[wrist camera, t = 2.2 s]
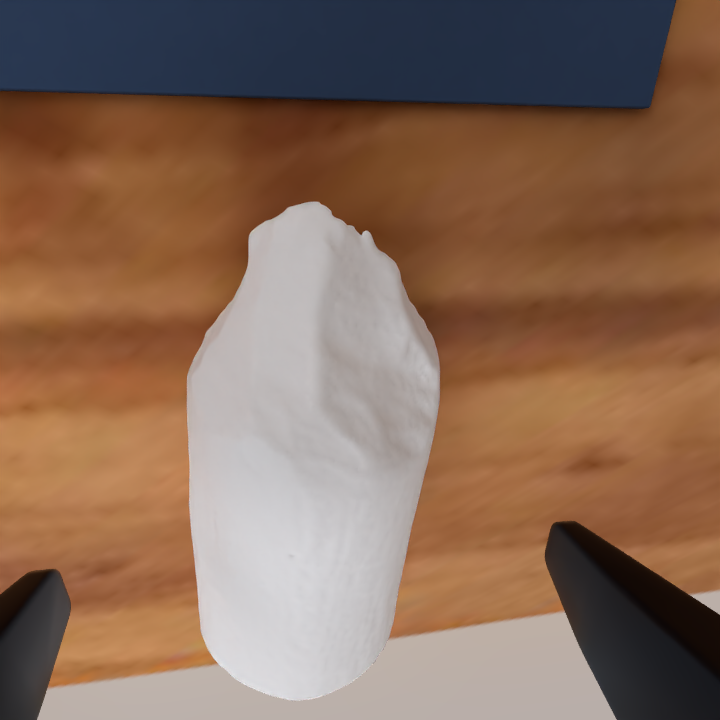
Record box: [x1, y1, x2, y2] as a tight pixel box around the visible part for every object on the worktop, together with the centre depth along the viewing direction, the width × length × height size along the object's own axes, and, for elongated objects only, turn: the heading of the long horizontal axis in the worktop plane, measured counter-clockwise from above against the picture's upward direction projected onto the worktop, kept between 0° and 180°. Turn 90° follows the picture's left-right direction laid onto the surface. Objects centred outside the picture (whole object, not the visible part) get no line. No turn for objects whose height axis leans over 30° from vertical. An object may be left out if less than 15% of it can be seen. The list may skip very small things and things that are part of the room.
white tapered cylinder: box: [187, 202, 440, 701], centre depth 11 cm, size 6×12×6 cm, turn 174°
